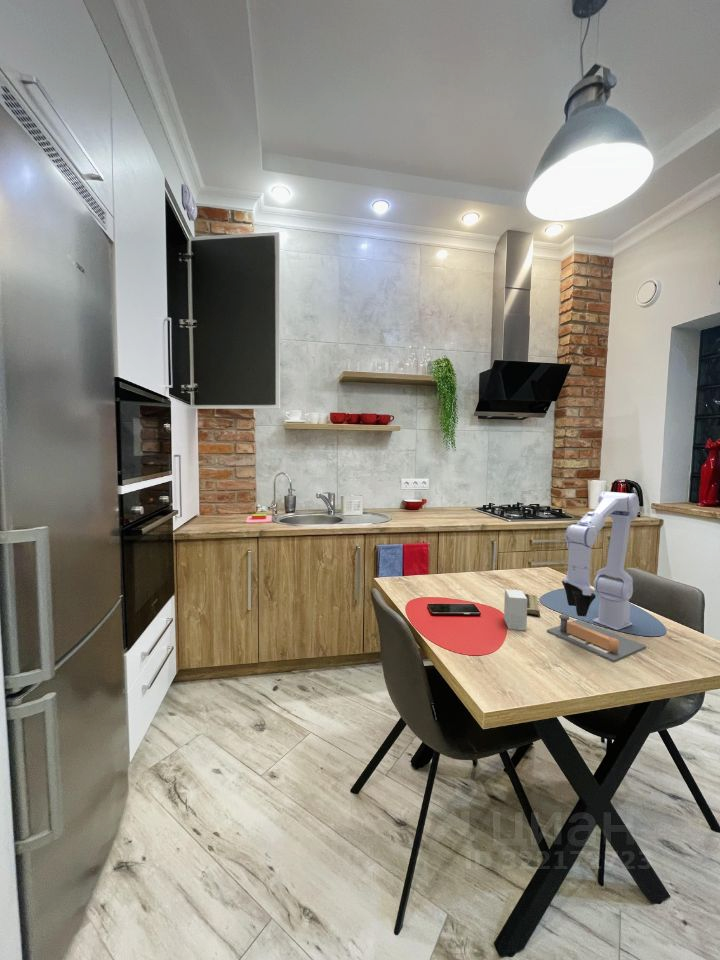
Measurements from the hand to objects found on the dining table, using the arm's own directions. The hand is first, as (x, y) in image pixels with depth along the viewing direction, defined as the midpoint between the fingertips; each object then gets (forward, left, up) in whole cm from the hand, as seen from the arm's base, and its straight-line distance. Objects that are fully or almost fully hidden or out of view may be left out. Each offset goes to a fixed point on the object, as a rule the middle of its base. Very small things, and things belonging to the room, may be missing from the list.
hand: (576, 610), depth 113 cm
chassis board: (-7, +2, -10) cm, 12 cm away
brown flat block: (-9, -24, -10) cm, 28 cm away
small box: (+7, -16, -10) cm, 20 cm away
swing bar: (-2, +4, -8) cm, 9 cm away
